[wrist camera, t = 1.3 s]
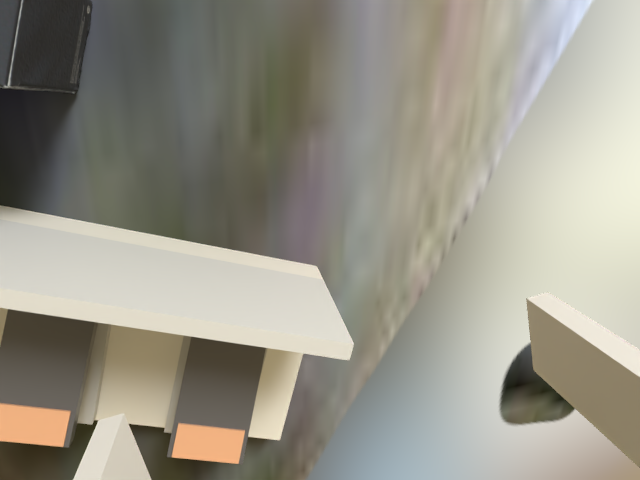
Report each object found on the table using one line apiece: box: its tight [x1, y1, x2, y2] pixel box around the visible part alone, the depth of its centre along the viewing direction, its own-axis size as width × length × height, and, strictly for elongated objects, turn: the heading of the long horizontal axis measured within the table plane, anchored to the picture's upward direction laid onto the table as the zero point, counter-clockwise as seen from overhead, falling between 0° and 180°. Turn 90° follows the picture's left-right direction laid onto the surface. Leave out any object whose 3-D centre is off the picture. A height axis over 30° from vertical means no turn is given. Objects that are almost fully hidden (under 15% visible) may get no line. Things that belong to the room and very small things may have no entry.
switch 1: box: [0, 309, 98, 448], centre depth 31 cm, size 5×10×1 cm, turn 166°
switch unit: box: [0, 205, 354, 440], centre depth 31 cm, size 34×14×13 cm, turn 76°
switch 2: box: [167, 337, 266, 464], centre depth 34 cm, size 5×10×1 cm, turn 166°
